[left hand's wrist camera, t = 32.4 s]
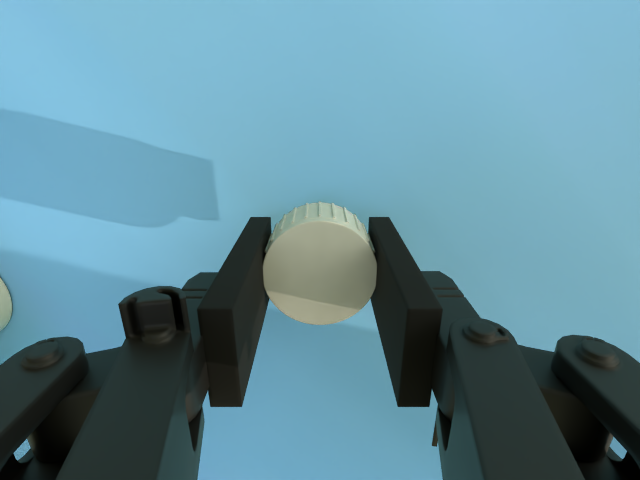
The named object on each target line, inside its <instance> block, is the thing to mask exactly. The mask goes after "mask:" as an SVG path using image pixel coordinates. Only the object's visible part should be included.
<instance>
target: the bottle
mask: <svg viewBox="0 0 640 480" xmlns="http://www.w3.org/2000/svg"><path fill="white" fill-rule="evenodd" d="M11 314H12V301H11V297H10V294H9V291H8V289H7V287H6V285H5V284H4V282H3V280H2V279H1V278H0V331H1V330H3V329H4V328H5V326H6V325H7V324H8V322H9V320H10V317H11Z"/></svg>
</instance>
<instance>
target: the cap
mask: <svg viewBox="0 0 640 480" xmlns="http://www.w3.org/2000/svg"><path fill="white" fill-rule="evenodd" d="M265 253H266V255H265V258H264V261H263V279H264V288H265V290H266V292H267V295H268V296H269V298H270V300H271V301H272V302H273V304H274V305H275V306H276V307H277V308H278V309H279V310H280V311H281V312H283V313H284V314H285V315H287V316H289V317H291V318H292V319H295V320H297V321H300V322H303V323H308V324H315V325H326V324H333V323H336V322H340V321H343V320H345V319H347V318H349V317H351V316H353V315H354V314H356V313H357V312H358V311H360V310H361V309H362V308H363V307H364V306H365V305H366V303H367V302H368V301H369V299H370V298H371V296H372V294H373V292H374V290H375V287H376V274H377V262H376V258H375V255H374V253H375V250H374V247H373V244H372V242H371V239H370V236H369V234H367V232H366V229H365V226H364V224H363V223H362V224H361V222H360V221H359V220H358V219H357V217H356V215H355V214H354V215H353V214H352V213H351V212H349V211H348V210H346V208H345V207H344V208H342V207H340V206H337V205H334V203H332V204H329V203H321V202H319V203H311V204H308V203H306V205H303V206H300V207H298V208H296V207H295V208H294V210H292V211H291V212H289V213H288V214H287V215H286V214H284V216H283V218H282V219H281V221H280V222H279V223H276V225H275V228H274V231H273V234H272V233H271V235H270V238H269V241H268V244H267V246H266V249H265Z"/></svg>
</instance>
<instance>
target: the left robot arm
mask: <svg viewBox="0 0 640 480" xmlns="http://www.w3.org/2000/svg"><path fill="white" fill-rule="evenodd" d="M368 234H369V236H370V239H371V242H372V244H373V247H374V250H375V253H374V255H375V258H376V262H377V274H376V287H375V290H374V292H373V294H372V296H371V298H370V299H371V303H372V307H373V311H374V315H375V318H376V322H377V326H378V330H379V334H380V338H381V342H382V346H383V350H384V354H385V358H386V362H387V366H388V370H389V374H390V378H391V382H392V386H393V389H394V393H395V397H396V401H397V405H398V407H429V405H430V398H431V391H432V390H433V392H434V395H435V398H436V400H437V403H438V408H437V414H436V421H435V428H434V434H433V441H432V446H436V447H437V443H438V445H439V453H440V461H441V469H442V477H443V480H640V363H639V362H638V361H636V360H635V359H634V358H632V357H631V356H630V355H629V354H627V353H626V352H624V351H622V350H621V349H619V348H618V347H616V346H614V345H612V344H609V343H607V342H605V341H603V340H601V339H598V338H593V337H590V336H579V335H570V336H564V337H562V338H561V339H560V340H558V341H557V345H556V348H555V352H550V351H545V350H540V349H535V348H530V347H525V346H521V345H518V344H517V342H516V340H515V338H514V337H513V336H512V334H511V333H510V332H509V331H508V330H507V329H505V328H504V327H502V326H501V325H499V324H497V323H494V322H492V321H489V320H486V319H481V318H480V317H479V315H478V314H477V313H476V311H475V310H474V308H473V307H472V306H471V304H470V303H469V302H468V300H467V299H466V298H465V297H464V295H463V293H462V292H461V291H460V290H458V287H457V285H456V284H455V283H454V281H453V280H452V279H451V278H449V277H448V276H446V275H445V274H443V273H441V272H440V271H420V269H419V268H418V266H417V264H416V262H415V261H414V259H413V257H412V256H411V254H410V252H409V250H408V249H407V247H406V245H405V244H404V242H403V240H402V239H401V237H400V235H399V233H398V232H397V230H396V228H395V227H394V225H393V223H392V222H391V220H390V218H389V217H369V230H368ZM270 235H271V217H251V218H250V219H249V221H248V223H247V224H246V226H245V228H244V230H243V231H242V233H241V235H240V236H239V238H238V240H237V242H236V243H235V245H234V247H233V248H232V250H231V252H230V253H229V255H228V257H227V259H226V260H225V262H224V264H223V265H222V267H221V269H220V270H219V272H200V273H199V274H197V275H196V276H194V277H192V278H191V279H189V280H188V281H187V282H186V284H185V285H184V287H183V288H182V290H181V289H180V288H176V287H172V286H158V287H152V288H146V289H143V290H140V291H137V292H135V293H133V294H131V295H129V296H127V297H125V298H124V299H123V300H122V301H121V302H120V303H119V304H118V305H119V309H120V314H121V318H122V322H123V327H124V331H125V336H126V339H125V341H124V343H123V345H122V346H121V347H117V348H113V349H108V350H103V351H98V352H93V353H88V354H86V353H85V349H84V346H83V343H82V342H81V341H80V340H79V339H77V338H72V337H58V338H50V339H48V340H46V339H45V340H42V341H39V342H37V343H35V344H33V345H31V346H28V347H26V348H24V349H22V350H21V351H19V352H18V353H16V354H14V355H13V356H12V357H10V358H9V359H8V360H6V361H5V362H4V363H3V364H1V365H0V480H197V477H198V469H199V461H200V453H201V445H202V437H203V429H204V414H203V408H202V404H203V401H204V399H205V396H206V394H207V391H208V393H209V400H210V407H242V404H243V400H244V396H245V392H246V388H247V385H248V381H249V377H250V373H251V369H252V365H253V361H254V357H255V353H256V349H257V345H258V341H259V337H260V333H261V329H262V325H263V321H264V317H265V314H266V310H267V306H268V302H269V296H268V295H267V292H266V290H265V288H264V279H263V261H264V258H265V255H266V253H265V249H266V246H267V244H268V241H269V238H270ZM613 436H614V437H615V438H616V439H617V441H618V442H619V443H620V444H621V445H622V446H623V447H624V448H625V449H626V450H627V453H626V455H625V458H624V459H621V458H620V457H619V456H618V455H617V454H616V453H615V452H614V451H613V450H612V449H611V448H610V447H609V446H610V444H611V441H612V439H613ZM26 439H28V442H29V445H30V447H31V449H30V450H29V451H28V452H27V453H26V454H25V455H24V456H23V457H22V458H21V459H19V460H18V461H17V460H16V458H15V456H14V454H13V453H14V452H15V451H16V450H17V448H18V447H19V446H20V445H21V444H22V443H23V442H24V441H25V440H26Z"/></svg>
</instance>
